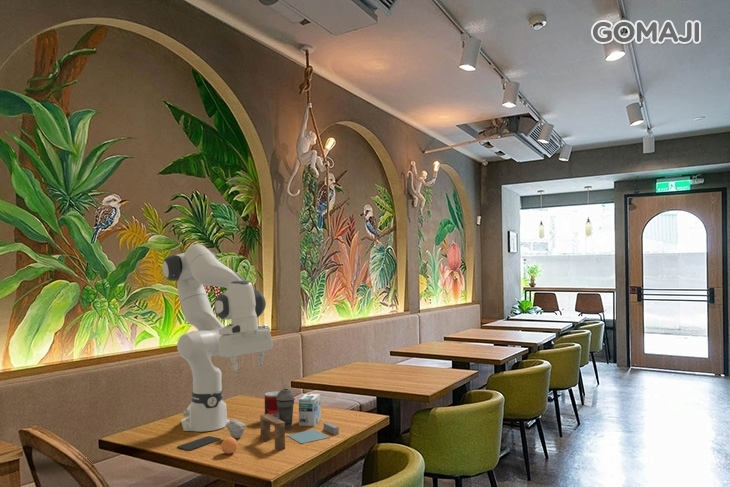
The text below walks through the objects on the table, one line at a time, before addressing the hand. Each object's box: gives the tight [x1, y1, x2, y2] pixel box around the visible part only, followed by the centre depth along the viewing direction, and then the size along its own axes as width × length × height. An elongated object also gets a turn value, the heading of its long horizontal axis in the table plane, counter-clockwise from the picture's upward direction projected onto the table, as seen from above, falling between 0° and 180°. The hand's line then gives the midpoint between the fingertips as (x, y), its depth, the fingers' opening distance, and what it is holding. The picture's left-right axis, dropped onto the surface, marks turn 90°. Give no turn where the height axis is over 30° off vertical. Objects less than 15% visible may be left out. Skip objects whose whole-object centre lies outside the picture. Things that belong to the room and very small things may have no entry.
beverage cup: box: [276, 377, 295, 432], centre depth 209 cm, size 7×7×20 cm
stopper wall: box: [323, 422, 340, 436], centre depth 205 cm, size 8×2×2 cm, turn 34°
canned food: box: [264, 390, 281, 419], centre depth 223 cm, size 8×8×11 cm
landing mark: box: [286, 428, 331, 445], centre depth 199 cm, size 12×12×1 cm
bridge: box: [259, 413, 286, 451], centre depth 191 cm, size 3×14×9 cm, turn 34°
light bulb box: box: [298, 393, 322, 427], centre depth 218 cm, size 11×7×11 cm, turn 170°
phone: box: [176, 435, 222, 452], centre depth 193 cm, size 7×1×15 cm
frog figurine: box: [226, 418, 246, 439], centre depth 199 cm, size 6×7×7 cm
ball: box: [220, 436, 238, 455], centre depth 182 cm, size 5×5×5 cm
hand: (248, 367), depth 181 cm, fingers open, 8 cm apart
